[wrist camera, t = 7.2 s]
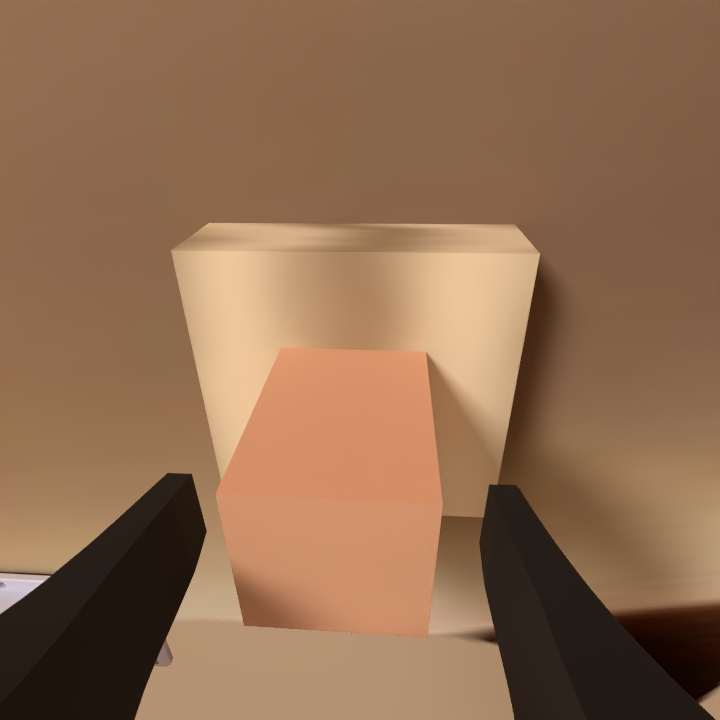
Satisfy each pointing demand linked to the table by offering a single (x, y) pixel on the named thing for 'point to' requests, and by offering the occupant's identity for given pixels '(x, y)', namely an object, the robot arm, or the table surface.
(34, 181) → the table surface
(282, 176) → the table surface
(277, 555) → the terracotta block
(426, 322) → the birch base block
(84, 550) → the robot arm
